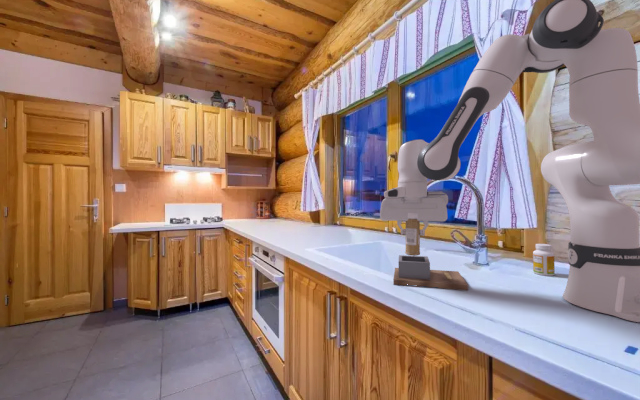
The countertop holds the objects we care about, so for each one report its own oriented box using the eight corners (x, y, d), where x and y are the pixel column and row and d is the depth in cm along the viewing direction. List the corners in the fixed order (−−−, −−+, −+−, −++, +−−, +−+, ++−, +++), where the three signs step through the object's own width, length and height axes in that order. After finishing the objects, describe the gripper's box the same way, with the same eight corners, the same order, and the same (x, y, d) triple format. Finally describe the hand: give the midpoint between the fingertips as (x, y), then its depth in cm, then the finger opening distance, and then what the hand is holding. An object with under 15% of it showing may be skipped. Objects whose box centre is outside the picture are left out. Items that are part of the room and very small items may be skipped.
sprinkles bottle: (423, 254, 84) (423, 212, 84) (413, 256, 82) (414, 212, 82) (411, 252, 88) (411, 211, 88) (401, 253, 86) (402, 212, 86)
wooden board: (458, 275, 88) (458, 270, 88) (467, 290, 74) (467, 283, 74) (395, 271, 94) (395, 266, 94) (393, 284, 80) (393, 278, 80)
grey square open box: (427, 271, 88) (427, 256, 88) (430, 279, 80) (429, 263, 80) (399, 269, 91) (399, 255, 91) (398, 277, 82) (398, 261, 82)
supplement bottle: (552, 273, 89) (552, 243, 89) (556, 277, 84) (555, 246, 84) (532, 270, 92) (531, 242, 92) (534, 274, 87) (534, 245, 87)
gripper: (446, 191, 85) (446, 234, 85) (380, 192, 91) (381, 232, 91) (449, 191, 79) (449, 237, 79) (379, 192, 85) (379, 235, 85)
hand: (412, 235), depth 85 cm, fingers closed on sprinkles bottle, 4 cm apart
